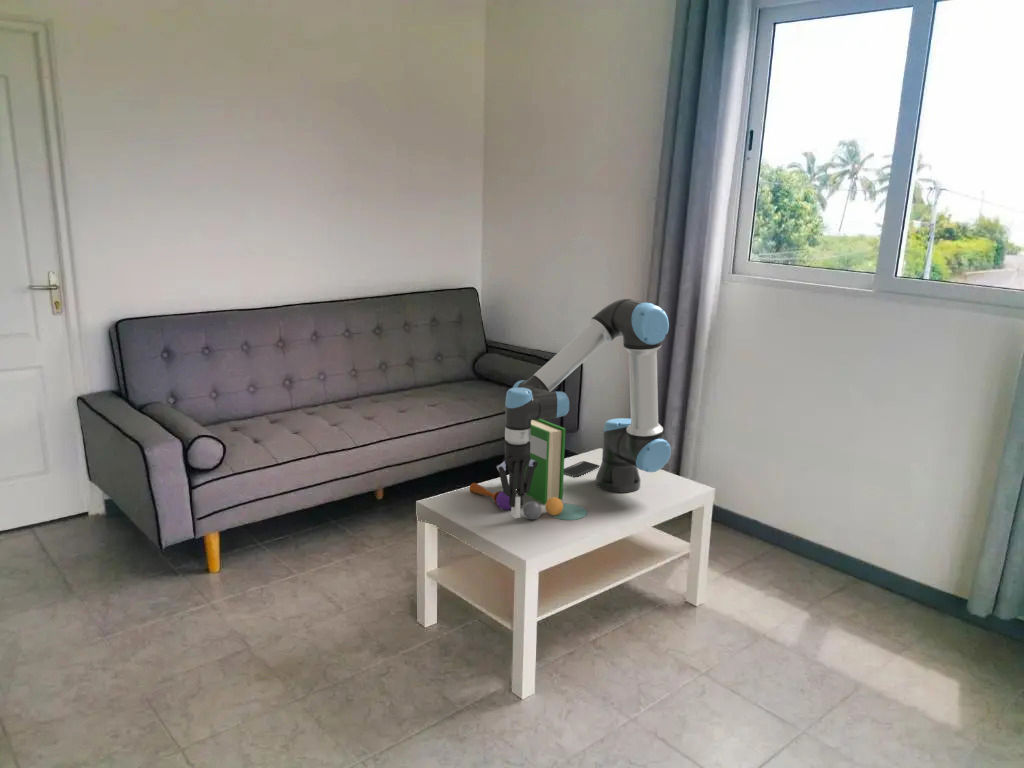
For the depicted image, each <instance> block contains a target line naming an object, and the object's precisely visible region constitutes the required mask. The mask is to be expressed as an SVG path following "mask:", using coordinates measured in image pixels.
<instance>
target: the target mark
mask: <svg viewBox="0 0 1024 768" xmlns="http://www.w3.org/2000/svg"><path fill="white" fill-rule="evenodd" d="M587 513H588V511H587V510H586V509H585V508H584V507H582V506H580V505H576V504H572V503H563V510H562V512H561V513H560V514H558V515H551V514H549V515H550V516H551V517H553V518H555V519H557V520H562V521H563V520H564V521H575V520H576V519H577V520H580V518H581V519H583V518H585V517H586V516H587ZM584 516H585V517H584ZM582 517H583V518H582Z"/></svg>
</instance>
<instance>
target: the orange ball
mask: <svg viewBox="0 0 1024 768" xmlns="http://www.w3.org/2000/svg"><path fill="white" fill-rule="evenodd" d="M563 504H564V503H563V500H560V499H559V498H557V497H552V498H550V499H548V500H547V502H546V504H544V505H545V510H546V511H545V512H547V514H549V515H550V514H551V515H558V514H560V513H561V512H562V510H563ZM551 515H550V516H551Z"/></svg>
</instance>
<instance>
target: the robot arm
mask: <svg viewBox="0 0 1024 768" xmlns="http://www.w3.org/2000/svg"><path fill="white" fill-rule="evenodd" d="M588 321H589V322H588V325H587V326H586V327H585V328H584V329H583V330H582V331H580V332H579V334H577V335H576V336H575V337H574V338H572V340H571V341H569V343H568V344H566V345H565V346H564V347H563V348H562V349H560V351H559V352H557V353H556V354H555V355H554V356H553V357H552V358H550V359H549V360H548V361H547V362H546V363H545V364H544V365H543V366H542V367H541V368H539V369H538V370H537V371H536V372H535V373H534V374H532V375H531V377H529V378H528V379H527V380H524V379H523V380H517V382H515V383H514V385H513V386H512V387H511V388H509V389H508V390H507V391H506V396H505V402H504V406H505V418H504V419H505V425H504V440H505V441H504V457H503V461H502V463H500V464H496V466H495V468H496V469H497V471H498V473H499V479H500V484H501V488H502V491H503V493H504V494H506V495H507V496H509V505H510V506H511V507H512V508H511V509H510V510H511V512H510V513H511V516H512V517H514V519H517V518H521V506H523V503H524V502H523V501H524V499H523V498H524V497H525V496H526V494H525V493H528V492H529V490H530V486H531V482H532V478H533V474H534V470H535V468H536V466H537V464H538V463H537V462H536V461H534V460H533V459H531V457H530V439H531V420H537V419H542V420H545V419H553V418H554V419H556V418H561V417H565V416H566V415H567V414H568V413H569V411H570V400H569V396H568V395H567V393H565V392H564V391H554V389H556V388H557V386H558V385H560V384H561V383H562V382H563V381H564V380H565V379H567V377H569V376H570V375H571V374H572V373H573V372H574V371H575V370H576V369H578V367H580V366H581V365H582V364H583V363H584V362H585V361H587V359H588V358H589V357H590V356H592V355H593V354H594V353H595V352H596V351H597V350H598V349H600V348H601V347H602V346H603V345H604V344H605V343H608V344H609V343H612V341H613V340H614V339H616V338H617V337H621V336H622V339H623V341H622V343H623V349H625V350H626V351H627V352H628V368H629V369H628V370H629V372H628V373H629V404H630V418H626V417H625V418H622V417H621V418H612V419H608V420H606V421H605V422H604V425H603V431H602V432H603V435H602V436H603V437H602V438H603V439H602V456H601V458H602V459H601V464H600V465H599V466H600V468H599V469H598V471H597V474H596V477H595V485H596V486H597V487H598V488H600V489H602V490H605V491H609V492H611V493H612V492H613V493H631V492H636V491H638V490H639V489H640V488H641V476H640V473H639V471H640V470H641V471H644V472H646V473H655V472H658V471H660V470H662V469H663V468H664V467H665V465H666V464H668V462H669V460H670V458H671V453H672V449H671V448H672V447H671V445H670V443H669V442H668V441H667V440H666V439H664V427H663V426H662V425H661V424H660V423H659V400H658V399H659V398H658V397H659V396H658V394H659V391H658V354H657V353H658V350H659V349H660V348H661V347H662V342H663V341H664V340H665V339H666V335H668V332H669V329H670V323H669V317H668V315H667V313H666V311H665V310H664V309H662V308H661V307H660V306H659V305H656V304H653V303H650V302H643V301H639V300H634V299H631V298H621V299H619V300H618V299H617V300H616V301H613V302H611V303H610V304H608V305H606V306H605V307H604V308H602V309H601V310H600V311H598V312H597V313H596V314H594V316H592V318H590V319H589V320H588ZM527 465H528V466H527ZM506 467H507V468H506ZM526 467H527V470H526V474H525V468H526ZM506 470H508V474H509V475H507V472H506ZM524 474H525V478H524ZM508 476H509V477H508ZM516 478H517V490H516Z"/></svg>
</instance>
